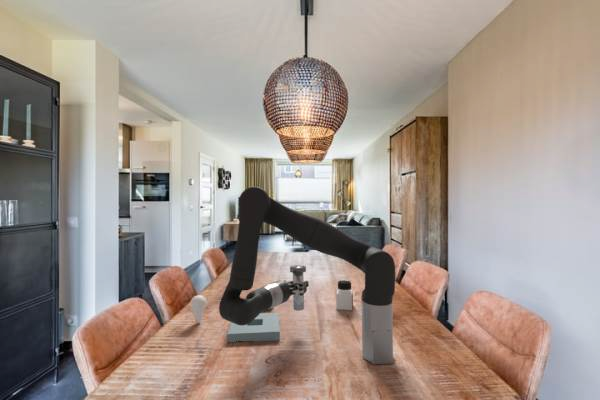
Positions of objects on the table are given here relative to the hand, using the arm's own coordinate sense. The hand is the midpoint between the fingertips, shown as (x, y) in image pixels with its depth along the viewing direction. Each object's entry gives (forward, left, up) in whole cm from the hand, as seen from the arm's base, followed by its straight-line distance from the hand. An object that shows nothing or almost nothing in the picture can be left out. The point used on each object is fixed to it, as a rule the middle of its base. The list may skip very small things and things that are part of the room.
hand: (302, 282), depth 114 cm
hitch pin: (-2, +2, -9) cm, 9 cm away
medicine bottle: (+20, -21, -18) cm, 34 cm away
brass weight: (+23, +15, -18) cm, 32 cm away
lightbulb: (+9, +41, -18) cm, 45 cm away
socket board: (0, +18, -17) cm, 25 cm away
